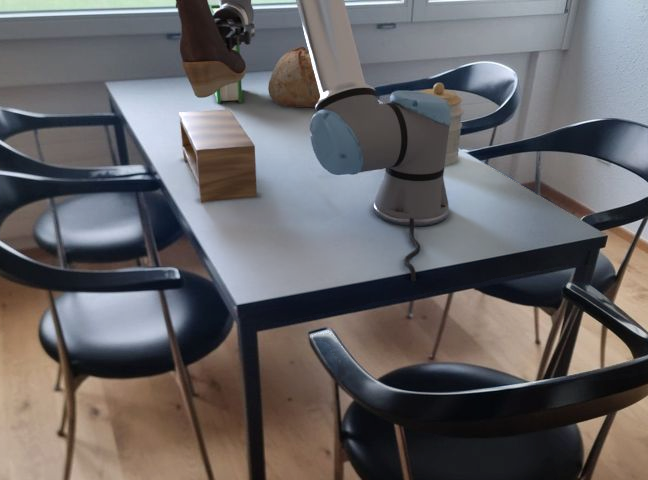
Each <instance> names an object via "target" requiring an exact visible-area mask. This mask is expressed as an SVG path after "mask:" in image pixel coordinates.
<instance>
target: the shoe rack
mask: <svg viewBox="0 0 648 480" xmlns="http://www.w3.org/2000/svg"><path fill="white" fill-rule="evenodd" d="M178 117H179V128H180V138H181V146H182V147H181V148H182V149H181V150H182V157H183V161H184V162H187V164H188V165H189V168H190V170H191V173H192V175H193V178H194V180H195V182H196V184H197V187H198V191H199V200H200V203H206V202H216V201H217V202H218V201H228V200H239V199H249V198H250V199H251V198H258V191H257V190H258V189H257V165H256V145H255V144H254V142H253V141H252V139H251V138H250V137H249V135H248V134H247V132H246V131H245V130H244V128H243V126H242V125H241V123H240V122H239V121H238V119H237V118H236V116H235V115H234V113H233V112H232V110H231V109H230V108H227V109H226V108H225V109H211V110H209V109H208V110H197V111H195V110H194V111H181V112H180V111H179V112H178Z"/></svg>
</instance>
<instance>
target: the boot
mask: <svg viewBox="0 0 648 480" xmlns="http://www.w3.org/2000/svg"><path fill="white" fill-rule="evenodd" d="M209 5H210V4H209V0H175V8H176V9H177V14H178V18H179V22H180V37H179V38H180V39H179V43H178V47H179V48H178V49H179V54H180V57H181V60H182V61H181V66H182V68H183V70H184V73H185V75H186V77H187V79H188V81H189V84H190V86H191V88H192V91H193V94H194V96H196V98H199V99H201V98H203V99H204V98H208V97H210V96H212V95H215V92H217V90H219V89H220V88H222V87H224V86H226V85H229V84H233V83H236V82H238V81H240V80H241V81H242V80H243V79H244V77H245V76H246V74H247V65H246V62H245V60H244V58H243V57H242V56H243V55H241V52H240V53H239V52H237V51H235V50H231V51H230V52H229V50H228V48H227V47H226V45H225V43H224V41H223V39H222V37H221V35H220V33H219V30H218V28H217V25H216V22H215V20H214V17H213V15H212V12H211V10H210V7H209Z"/></svg>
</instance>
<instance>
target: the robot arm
mask: <svg viewBox="0 0 648 480" xmlns="http://www.w3.org/2000/svg"><path fill="white" fill-rule="evenodd" d="M295 3H296V6H297V10H298V14H299V17H300V22H301V25H302V29H303V33H304V38H305V42H306V45H307V50H309V53H310V57H311V61H312V65H313V69H314V73H315V77H316V81H317V84H318V88H319V92H320V96H321V97H320V99H319V101H318V103H317V104H316V107H314V109H315V113H314V114H313V116H312V117H311V120H310V124H309V131H310V137H309V138H310V143H311V147H312V150H313V152H314V155H315V157H316V159H317V161H318V162H319V164H320V166H321V167H322V168H323V169H324V170H325V171H327V172H328V173H330V174H331V175H335V176H343V175H344V176H345V175H351V176H353V175H354V176H355V175H357V174H361V173H365V172H371V171H377V170H384V169H385V170H384V175H383V178H382V180H381V182H380V185H379V188H378V191H377V193H376V195H375V197H374V203H373V212H374V214H375V215H376V216H377V217H378V218H380V219H381V220H383V221H385V222H388V223H390V224H394V225H400V226H404V227H405V226H406V227H409V231H408V232H409V233H408V236H409V240H410V242H411V243H412V244H413V246H414V247H415V249H414V250H412V251H411V252H410V253H408V254H406V256H405V257H404V259H403V264H404V266H405V267H406V268H407V269H408V271H409V272H410V281H412V282H416V281H417V275H416V268H415V267H414V266H413V264H412V263H411V262H410V260H412V258H415V256H417V255H418V254H419V253H420V251H421V245H420V243H419V242H418V240H416V238H415V227H426V226H431V225H435V224H439V223H441V222H443V221H444V220H446V218H447V217H448V215H449V200H448V195H447V190H446V185H445V179H444V174H445V173H444V172H445V166H446V165H445V158H446V149H447V141H448V133H449V126H450V125H451V124H450V113H451V108H450V105H449V103H448V102H447V101H446V100H444V99H442V98H440V97H438V96H434V95H431V94H426V93H422V92H421V91H414V90H394V91H393V92H391V94H390V97H389V102H387V103H380V102H379V99H378V94H377V90H376V89H375V87H373V86H371V85H369V84H367V83H366V81H365V76H364V74H363V69H362V66H361V65H362V64H361V61H360V58H359V57H360V56H359V53H358V50H357V45H356V41H355V38H354V34H353V30H352V26H351V22H350V18H349V14H348V10H347V7H346V2H345V0H295ZM219 5H220V8H219V9H218V10H217V11H216V12H215V13H214V14H213V17H214V20H215V22H216V25H217V28H218V30H219V33H220V35H221V37H222V39H223V41H224V43H225V44H226V47H227V48H228V50H229V52H230V51H231V50H232V49H233V48H234V46H235V45H239V46H241V45H242V43H244V45H246V46H248V45H250V44H251V43H252V42H251V41H252V38H254V37H256V35H255V33H256V32H255V23H253V22H254V18H255V12H254V7H253V5H252V0H219Z"/></svg>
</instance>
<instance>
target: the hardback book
mask: <svg viewBox="0 0 648 480" xmlns="http://www.w3.org/2000/svg"><path fill="white" fill-rule="evenodd" d="M209 7H210V10H211V12H212V15H213V14H214V13H215V12H216V11H217V10H218V9H219V8H220V4H209ZM225 45H226V44H225ZM240 47H241V45H235V46H234V48H233V49H232V50H235V51H237V52H239V53H240V54H241V51H240V50H241V48H240ZM242 88H243V87H242V80H240V81H238V82H236V83H233V84H229V85H226V86H224V87H222V88H220V89H219V90H217V92H215V93H214V96H215V100H216V102H217V105H218V104H219V105H221V104H222V101H238V103H239V104H241V103H243V89H242Z"/></svg>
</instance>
